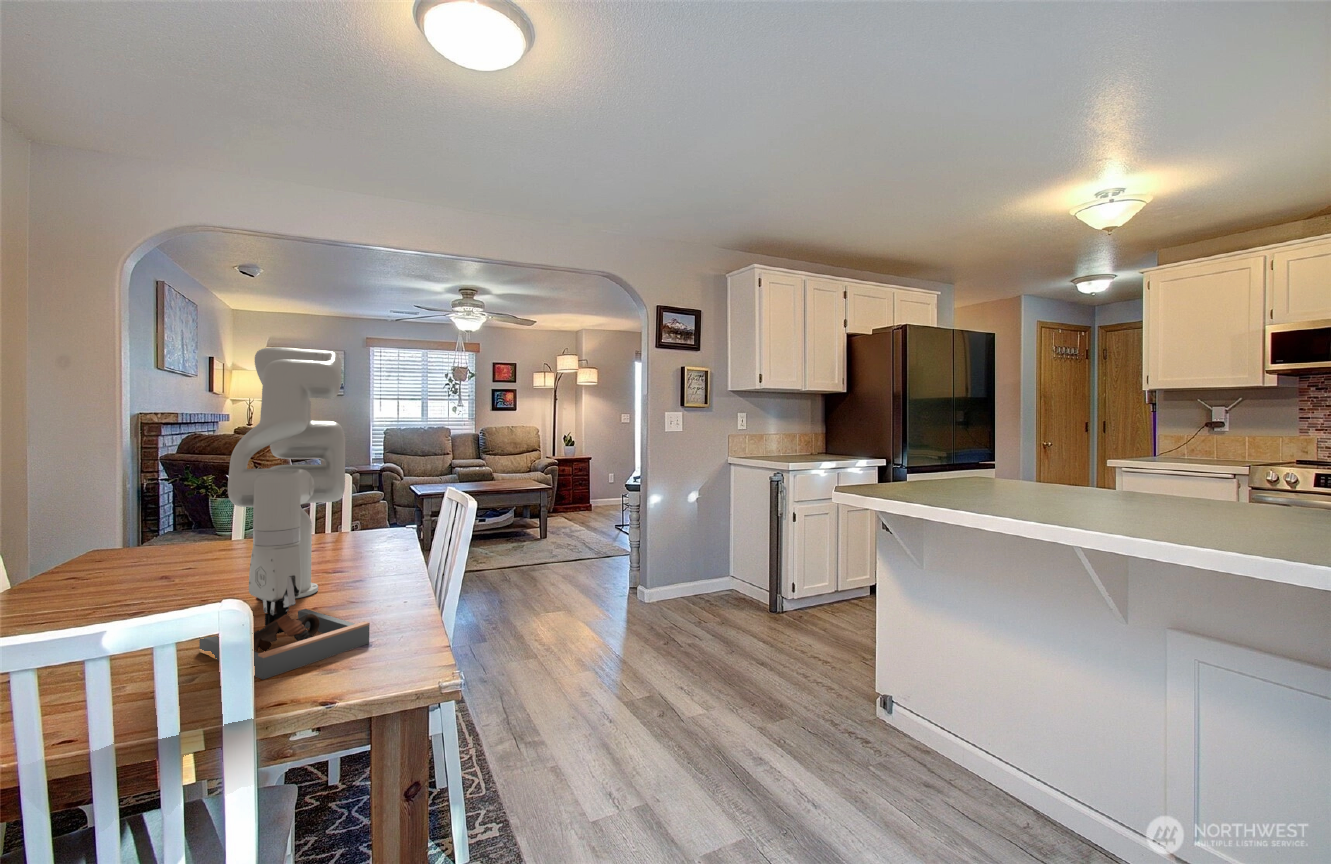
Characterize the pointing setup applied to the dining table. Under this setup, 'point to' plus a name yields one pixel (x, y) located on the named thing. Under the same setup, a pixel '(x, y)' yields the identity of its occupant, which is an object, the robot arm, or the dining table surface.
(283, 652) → the bay
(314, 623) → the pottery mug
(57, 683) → the dining table surface
